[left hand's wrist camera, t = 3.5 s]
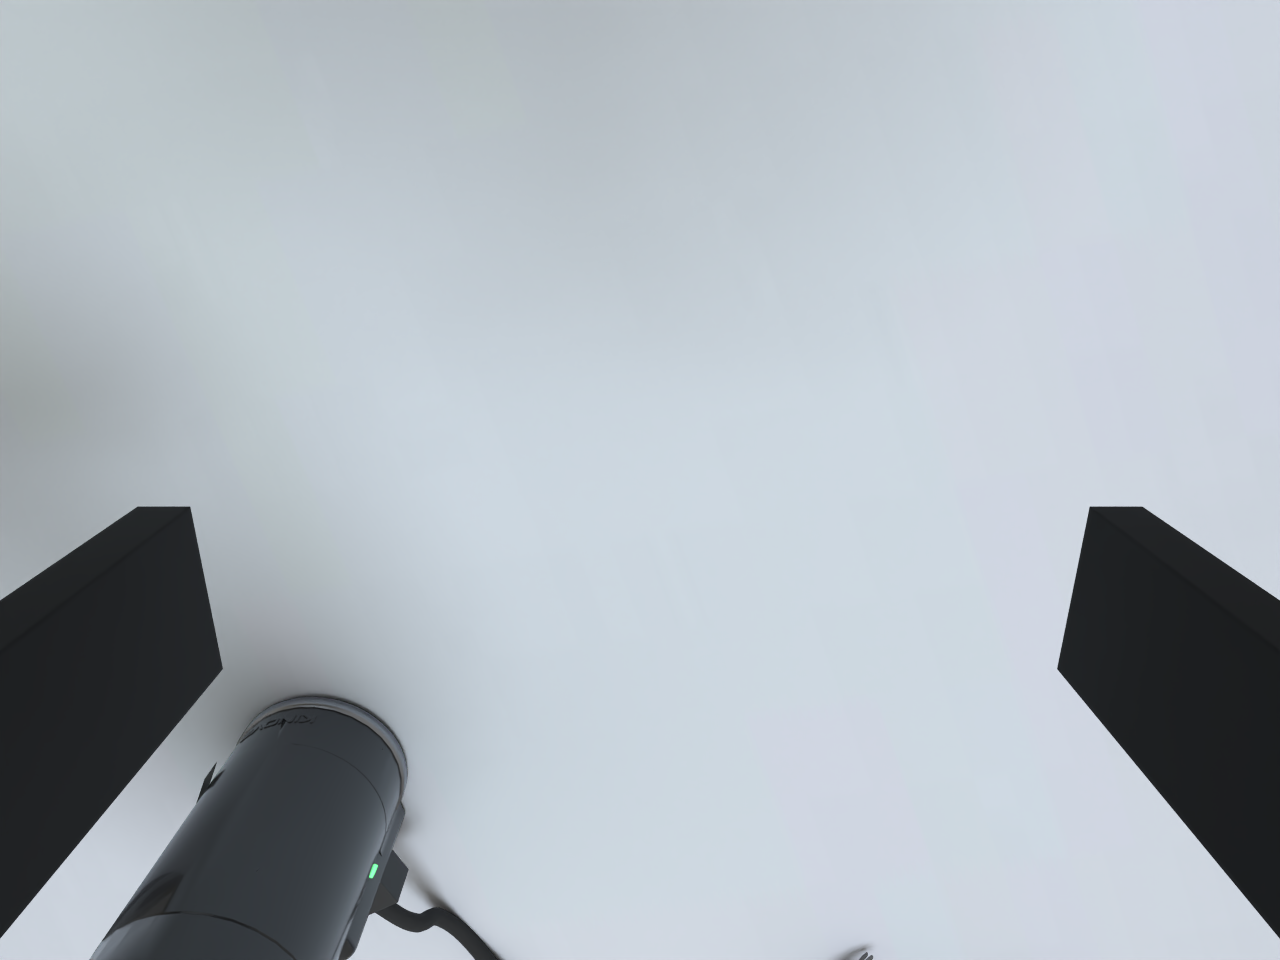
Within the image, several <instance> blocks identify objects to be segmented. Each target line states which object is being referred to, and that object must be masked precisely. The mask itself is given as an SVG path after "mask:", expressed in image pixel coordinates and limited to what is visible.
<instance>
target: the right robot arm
mask: <svg viewBox="0 0 1280 960" xmlns="http://www.w3.org/2000/svg"><path fill="white" fill-rule="evenodd" d="M216 763H217V762H216ZM215 766H216V764H215V765H214V767H213V768H212V769H211V771H210V772H209V774H208V775H207V776H206V778H205V779H204V782H203V785H202V788H201V791H200V794H199V797H198V800H197V803H196V805H195V807H194V808H193V809H192V811H191V812H190V814H189V815H188V817H187V818H186V820H185V821H184V823H183V824H182V825H181V827H180V828H179V830H178V831H177V833H176V834H175V836H174V837H173V839H172V840H171V841H170V843H169V844H168V846H167V847H166V849H165V850H164V852H163V853H162V855H161V856H160V857H159V859H158V860H157V862H156V863H155V865H154V866H153V868H152V869H151V870H150V872H149V873H148V875H147V876H146V878H145V879H144V881H143V882H142V884H141V885H140V886H139V888H138V889H137V891H136V892H135V894H134V895H133V897H132V898H131V900H130V901H129V902H128V904H127V905H126V907H125V908H124V910H123V911H122V913H121V914H120V915H119V917H118V918H117V920H116V921H115V923H114V924H113V926H112V927H111V929H110V930H109V931H108V933H107V934H106V936H105V937H104V939H103V940H102V942H101V943H100V945H99V946H98V947H97V949H96V950H95V952H94V953H93V955H92V956H91V958H90V959H89V960H346V959H348V958H350V957H351V956H352V955H353V954H354V952H355V950H356V948H357V946H358V943H359V940H360V937H361V934H362V932H363V929H364V926H365V923H366V921H367V918H368V915H370V914H372V913H377V914H378V915H380V916H381V917H383V918H384V919H386V920H387V921H389V922H391V923H392V924H394V925H396V926H398V927H400V928H402V929H404V930H407V931H411V932H422V931H424V930H427V929H429V928H430V927H432V926H434V925H435V926H438V927H440V928H442V929H444V930H446V931H447V932H449V933H450V934H451V935H453V936H454V937H455V938H456V939H457V940H458V941H459V942H460V943H461V944H462V945H463V946H464V947H465V948H466V949H467V950H468V952H469V953H470V954H471V955H472V956H473V957H474V959H475V960H497V959H496V957H495V956H494V955H493V954H492V952H491V951H490V950H489V949H488V948H487V946H486V945H485V944H484V943H483V942H482V940H481V939H480V938H479V937H478V936H477V935H476V934H475V933H474V932H473V930H472V929H471V928H470V927H468V926H467V925H466V924H465V923H464V922H463V921H462V920H460V919H459V918H457V917H456V916H454V915H453V914H451V913H449V912H447V911H445V910H443V909H441V908H437V907H435V908H431V909H428V910H426V911H424V912H423V913H421V914H417V913H413V912H410V911H408V910H406V909H404V908H402V907H401V906H399V905H398V904H396V903H397V902H398V900H399V897H400V894H401V891H402V888H403V885H404V882H405V879H406V876H407V872H408V868H407V867H406V866H405V864H404V863H403V862H402V861H401V860H400V858H399V857H398V856H397V855H396V853H395V852H394V851H393V850H392V849H393V846H394V843H395V840H396V838H397V835H398V832H399V829H400V827H401V824H402V821H403V818H404V815H405V811H404V809H403V807H402V805H401V799H402V796H403V794H404V791H405V787H406V782H407V765H406V760H405V757H404V754H403V751H402V749H401V747H400V745H399V743H398V742H397V740H396V738H395V737H394V736H393V734H392V733H391V732H390V731H389V730H388V728H387V727H386V726H385V725H383V724H382V723H381V722H380V721H379V720H378V719H376V718H375V717H374V716H372V715H371V714H369V713H368V712H366V711H364V710H362V709H361V708H358V707H356V706H354V705H352V704H349V703H346V702H343V701H339V700H336V699H330V698H323V697H301V698H294V699H290V700H286V701H283V702H280V703H277V704H275V705H273V706H271V707H269V708H267V709H266V710H264V711H263V712H261V713H260V714H259V715H258V716H257V717H256V718H255V719H254V720H253V721H252V722H251V723H250V724H249V726H248V727H247V729H246V730H245V732H244V733H243V734H242V736H241V737H240V739H239V741H238V743H237V745H236V748H235V749H234V751H233V752H232V753H231V755H230V756H229V758H228V759H227V761H226V762H225V764H224V765H223V766H222V768H221V769H220V771H219V772H218V773H217V775H216V776H215V778H214V779H213V780H212V782H211V783H210V781H211V778H212V775H213V772H214V769H215ZM209 784H210V785H209Z"/></svg>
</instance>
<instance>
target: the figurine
mask: <svg viewBox="0 0 1280 960" xmlns="http://www.w3.org/2000/svg"><path fill="white" fill-rule="evenodd" d="M867 956H868V953H867V952H866V953H865V954H864V955H863V956H862V957H861V958H860V959H859V960H864V959H865V958H866V957H867ZM872 959H873V956H872V955H871V956H870V957H868V958H867V959H866V960H872Z"/></svg>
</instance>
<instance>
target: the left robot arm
mask: <svg viewBox="0 0 1280 960" xmlns="http://www.w3.org/2000/svg"><path fill="white" fill-rule="evenodd" d="M222 669H223V668H222V663H221V658H220V653H219V648H218V643H217V638H216V633H215V628H214V623H213V618H212V613H211V608H210V603H209V598H208V593H207V588H206V583H205V578H204V573H203V568H202V563H201V558H200V553H199V548H198V543H197V538H196V533H195V528H194V523H193V518H192V513H191V508H190V507H137V508H135V509H134V510H132V511H131V512H129V513H128V514H126V515H125V516H123V517H122V518H120V519H119V520H117V521H116V522H115V523H113V524H112V525H110V526H109V527H107V528H106V529H104V530H103V531H101V532H100V533H98V534H97V535H95V536H94V537H93V538H91V539H90V540H88V541H87V542H85V543H84V544H82V545H81V546H79V547H78V548H76V549H75V550H74V551H72V552H71V553H69V554H68V555H66V556H65V557H63V558H62V559H60V560H59V561H57V562H56V563H54V564H53V565H52V566H50V567H49V568H47V569H46V570H44V571H43V572H41V573H40V574H38V575H37V576H35V577H34V578H33V579H31V580H30V581H28V582H27V583H25V584H24V585H22V586H21V587H19V588H18V589H16V590H15V591H13V592H12V593H11V594H9V595H8V596H6V597H5V598H3V599H2V600H0V938H1V937H2V936H3V934H4V933H5V932H6V931H7V930H8V928H9V927H10V926H11V925H12V924H13V922H14V921H15V920H16V919H17V918H18V916H19V915H20V914H21V913H22V911H23V910H24V909H25V908H26V907H27V905H28V904H29V903H30V902H31V901H32V899H33V898H34V897H35V896H36V895H37V893H38V892H39V891H40V890H41V888H42V887H43V886H44V885H45V884H46V882H47V881H48V880H49V879H50V878H51V876H52V875H53V874H54V873H55V872H56V870H57V869H58V868H59V867H60V865H61V864H62V863H63V862H64V861H65V859H66V858H67V857H68V856H69V855H70V853H71V852H72V851H73V850H74V849H75V847H76V846H77V845H78V844H79V842H80V841H81V840H82V839H83V838H84V836H85V835H86V834H87V833H88V832H89V830H90V829H91V828H92V827H93V826H94V824H95V823H96V822H97V821H98V819H99V818H100V817H101V816H102V815H103V813H104V812H105V811H106V810H107V809H108V807H109V806H110V805H111V804H112V802H113V801H114V800H115V799H116V798H117V796H118V795H119V794H120V793H121V792H122V790H123V789H124V788H125V787H126V786H127V784H128V783H129V782H130V781H131V779H132V778H133V777H134V776H135V775H136V773H137V772H138V771H139V770H140V769H141V767H142V766H143V765H144V764H145V763H146V761H147V760H148V759H149V758H150V756H151V755H152V754H153V753H154V752H155V750H156V749H157V748H158V747H159V746H160V744H161V743H162V742H163V741H164V740H165V738H166V737H167V736H168V735H169V733H170V732H171V731H172V730H173V729H174V727H175V726H176V725H177V724H178V723H179V721H180V720H181V719H182V718H183V717H184V715H185V714H186V713H187V712H188V710H189V709H190V708H191V707H192V706H193V704H194V703H195V702H196V701H197V700H198V698H199V697H200V696H201V695H202V694H203V692H204V691H205V690H206V689H207V687H208V686H209V685H210V684H211V683H212V681H213V680H214V679H215V678H216V677H217V675H218V674H219V673H220V672H221V671H222ZM1057 669H1058V671H1059V672H1060V673H1061V674H1062V675H1063V677H1064V678H1065V679H1066V680H1067V681H1068V683H1069V684H1070V685H1071V686H1072V687H1073V689H1074V690H1075V691H1076V692H1077V694H1078V695H1079V696H1080V697H1081V698H1082V700H1083V701H1084V702H1085V703H1086V704H1087V706H1088V707H1089V708H1090V709H1091V710H1092V712H1093V713H1094V714H1095V715H1096V717H1097V718H1098V719H1099V720H1100V721H1101V723H1102V724H1103V725H1104V726H1105V727H1106V729H1107V730H1108V731H1109V732H1110V733H1111V735H1112V736H1113V737H1114V738H1115V740H1116V741H1117V742H1118V743H1119V744H1120V746H1121V747H1122V748H1123V749H1124V750H1125V752H1126V753H1127V754H1128V755H1129V756H1130V758H1131V759H1132V760H1133V761H1134V763H1135V764H1136V765H1137V766H1138V767H1139V769H1140V770H1141V771H1142V772H1143V773H1144V775H1145V776H1146V777H1147V778H1148V779H1149V781H1150V782H1151V783H1152V784H1153V786H1154V787H1155V788H1156V789H1157V790H1158V792H1159V793H1160V794H1161V795H1162V796H1163V798H1164V799H1165V800H1166V801H1167V802H1168V804H1169V805H1170V806H1171V807H1172V809H1173V810H1174V811H1175V812H1176V813H1177V815H1178V816H1179V817H1180V818H1181V819H1182V821H1183V822H1184V823H1185V824H1186V826H1187V827H1188V828H1189V829H1190V830H1191V832H1192V833H1193V834H1194V835H1195V836H1196V838H1197V839H1198V840H1199V841H1200V842H1201V844H1202V845H1203V846H1204V847H1205V849H1206V850H1207V851H1208V852H1209V853H1210V855H1211V856H1212V857H1213V858H1214V859H1215V861H1216V862H1217V863H1218V864H1219V865H1220V867H1221V868H1222V869H1223V870H1224V872H1225V873H1226V874H1227V875H1228V876H1229V878H1230V879H1231V880H1232V881H1233V882H1234V884H1235V885H1236V886H1237V887H1238V888H1239V890H1240V891H1241V892H1242V893H1243V895H1244V896H1245V897H1246V898H1247V899H1248V901H1249V902H1250V903H1251V904H1252V905H1253V907H1254V908H1255V909H1256V910H1257V911H1258V913H1259V914H1260V915H1261V916H1262V918H1263V919H1264V920H1265V921H1266V922H1267V924H1268V925H1269V926H1270V927H1271V928H1272V930H1273V931H1274V932H1275V933H1276V934H1277V936H1278V937H1279V938H1280V600H1278V599H1277V598H1275V597H1274V596H1272V595H1271V594H1269V593H1268V592H1267V591H1265V590H1264V589H1262V588H1261V587H1259V586H1258V585H1256V584H1255V583H1253V582H1252V581H1250V580H1249V579H1247V578H1246V577H1245V576H1243V575H1242V574H1240V573H1239V572H1237V571H1236V570H1234V569H1233V568H1231V567H1230V566H1228V565H1227V564H1226V563H1224V562H1223V561H1221V560H1220V559H1218V558H1217V557H1215V556H1214V555H1212V554H1211V553H1209V552H1208V551H1206V550H1205V549H1204V548H1202V547H1201V546H1199V545H1198V544H1196V543H1195V542H1193V541H1192V540H1190V539H1189V538H1187V537H1186V536H1185V535H1183V534H1182V533H1180V532H1179V531H1177V530H1176V529H1174V528H1173V527H1171V526H1170V525H1168V524H1167V523H1165V522H1164V521H1163V520H1161V519H1160V518H1158V517H1157V516H1155V515H1154V514H1152V513H1151V512H1149V511H1148V510H1146V509H1145V508H1143V507H1090V508H1089V513H1088V518H1087V523H1086V528H1085V533H1084V538H1083V543H1082V548H1081V553H1080V558H1079V563H1078V568H1077V573H1076V578H1075V583H1074V588H1073V593H1072V598H1071V603H1070V608H1069V613H1068V618H1067V623H1066V628H1065V633H1064V638H1063V643H1062V648H1061V653H1060V658H1059V663H1058V668H1057Z"/></svg>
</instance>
